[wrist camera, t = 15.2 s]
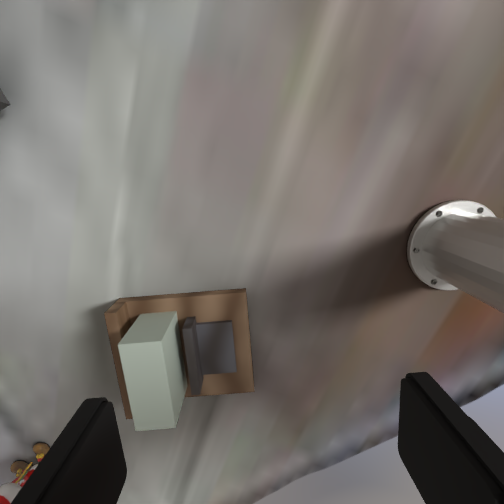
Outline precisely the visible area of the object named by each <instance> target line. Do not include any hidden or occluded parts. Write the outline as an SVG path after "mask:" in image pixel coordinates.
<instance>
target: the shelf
mask: <svg viewBox="0 0 504 504" xmlns="http://www.w3.org/2000/svg"><path fill="white" fill-rule="evenodd" d="M171 311H176V312H177V319H178V325H179V332H180V339H181V345H182V352H183V359H184V365H185V372H186V379H187V389H186V393H185V396H184V397H194V396H207V395H220V394H232V393H245V392H254V379H253V367H252V355H251V343H250V332H249V320H248V308H247V296H246V288H244V289H231V290H218V291H205V292H193V293H180V294H167V295H154V296H142V297H129V298H119V299H118V300H117V301H116V302H115V303H114V304H113V305H112V306H111V307H110V308H109V309H108V310H107V311H106V312H105V313H104V315H105V320H106V325H107V330H108V334H109V339H110V344H111V349H112V354H113V358H114V363H115V368H116V373H117V378H118V382H119V387H120V392H121V397H122V402H123V406H124V411H125V416H126V419H133V417H132V412H131V407H130V402H129V397H128V392H127V387H126V383H125V378H124V373H123V368H122V363H121V358H120V354H119V349H118V344H119V342H120V341H121V340H122V338H123V337H124V335H125V334H126V333H127V331H128V330H129V329H130V327H131V326H132V325H133V323H134V322H135V321H136V319H137V318H138V317H139V315H140V314H146V313H159V312H171Z"/></svg>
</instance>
